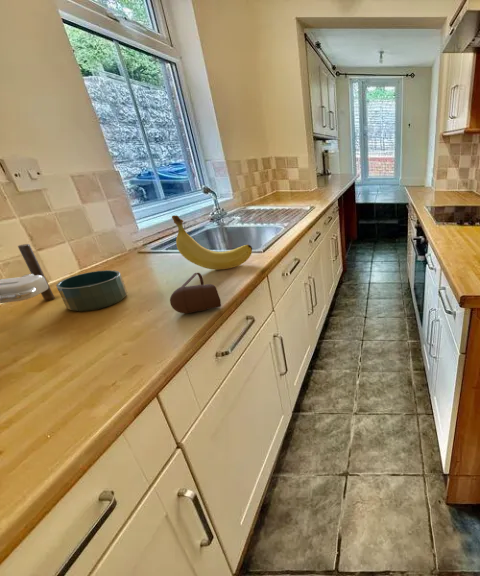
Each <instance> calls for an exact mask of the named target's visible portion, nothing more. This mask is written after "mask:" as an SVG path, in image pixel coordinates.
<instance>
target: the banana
mask: <svg viewBox="0 0 480 576" xmlns="http://www.w3.org/2000/svg"><path fill="white" fill-rule="evenodd" d="M171 218H172V221H173V223H174V224H175V225H176V227H177V230H178V231H177V235H176V239H175V243H176V244H175V245H176V248H177V250H178V252H179V253H180V255H181V256H182V257H184V259H185V260H187V261H188V262H190V263H192V264H194V265H196V266H198V267H201V268H204V269H208V270H227V269H232V268H237V267H239V266H240V265H242V264H244V263H246V262H247V261H248V260H249V259H250V257H252V256H251V255H252V254H253V253H252V252H253V246H251V245H250V244H244V245H241V246H238V247H236V248H233V249H231V250H225V251H215V250H210V249H208V248H206V247H204V246H202V245H201V244H200V243H198V242H197V241H196V240H195V239H193V237H192V236H190V234H188V233H187V231H186V230H185V228H184V226H183V223H184V222H185V221H184V220H183V219H181V218H180V217H179V215H172V216H171Z"/></svg>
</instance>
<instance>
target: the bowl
mask: <svg viewBox="0 0 480 576" xmlns="http://www.w3.org/2000/svg"><path fill="white" fill-rule="evenodd" d="M55 286H56V289H57V291H58V293H59V295H60V297H61V299H62V301H63V304H64V306H65V308H66V309H67V310H70V311H74V312H89V311H96V310H101V309H104V308H108V307H110V306H113V305H115V304H118V303H119V302H121V301H122V300H123V299H124V298H125V297H126V296H128V291H127V288H126V285H125V282H124V280H123V277H122V274H121V272H120V271H119V270H112V269H105V270H95V271H90V272H83V273H80V274H76V275H72V276H69V277H67V278H64V279H62V280H60V281H59V282H57V283H56V284H55Z"/></svg>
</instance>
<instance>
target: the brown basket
mask: <svg viewBox="0 0 480 576" xmlns="http://www.w3.org/2000/svg"><path fill="white" fill-rule="evenodd" d="M196 276H198V278H199V283H200V284H195V285H188V284H190V282H192V280H193V279H194V278H195V277H196ZM187 285H188V286H187ZM221 302H222V301H221V297H220V295H219V292H218V289H217V287H216V286H215V285H214V284H211V283H208V284H205V283H204V279H203V276H202V273H201V272H195V273H193V274H192V275H191V276H190V277H189V278H188V279H187V280H186V282H184V283H183V284H182V285H180V287H178V288H177V289H175V290H174V291H173V292H172V293H171V295H170V298H169V304H170V306H171V308H172V309H173V310H174V311H176V312H177V313H180V314H191V313H196V312H202V311H207V310H210V309H214V308H215V309H216V308H220V307H222V303H221Z"/></svg>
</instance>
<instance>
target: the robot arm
mask: <svg viewBox="0 0 480 576" xmlns="http://www.w3.org/2000/svg"><path fill="white" fill-rule="evenodd" d="M45 278H46V277H45ZM45 278H44V277H43V276H41V275H35V276H34V274H31V273H28V274H24V275H21V276H18V277H8V278H0V304H6V303H7V304H8V303H15V302H16V303H17V302H22V301H26V300H30V299H32V298H35V297H36V296H38V295H41V293H42V292H44V291H46V290H47V289H48V284H49V283H48V284H47V282H48V281H47V282H46V280H47V279H46V280H45Z"/></svg>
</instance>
